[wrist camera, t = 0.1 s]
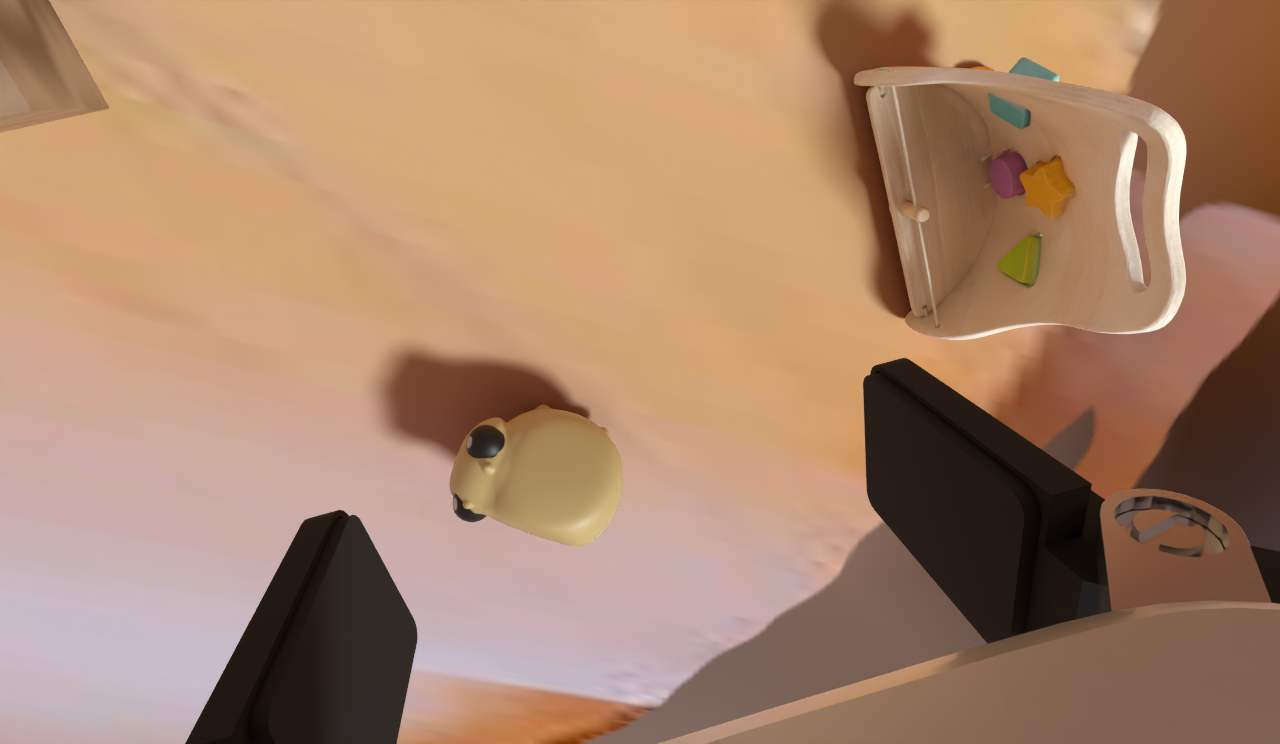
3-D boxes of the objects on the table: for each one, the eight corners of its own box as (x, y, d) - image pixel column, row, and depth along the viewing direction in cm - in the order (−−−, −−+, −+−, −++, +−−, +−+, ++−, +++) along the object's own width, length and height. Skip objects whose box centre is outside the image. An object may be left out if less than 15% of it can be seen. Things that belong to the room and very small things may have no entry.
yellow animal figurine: (481, 363, 43) (469, 437, 34) (630, 405, 47) (656, 483, 38) (445, 470, 47) (425, 566, 37) (587, 502, 50) (601, 597, 41)
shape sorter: (1015, 269, 48) (1255, 353, 32) (897, 324, 48) (1079, 434, 32) (986, 9, 39) (1297, -52, 23) (842, 77, 39) (1054, 63, 24)
